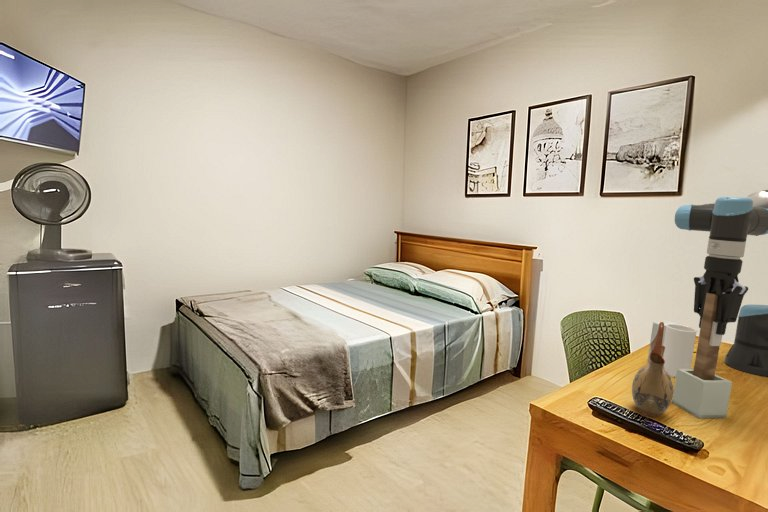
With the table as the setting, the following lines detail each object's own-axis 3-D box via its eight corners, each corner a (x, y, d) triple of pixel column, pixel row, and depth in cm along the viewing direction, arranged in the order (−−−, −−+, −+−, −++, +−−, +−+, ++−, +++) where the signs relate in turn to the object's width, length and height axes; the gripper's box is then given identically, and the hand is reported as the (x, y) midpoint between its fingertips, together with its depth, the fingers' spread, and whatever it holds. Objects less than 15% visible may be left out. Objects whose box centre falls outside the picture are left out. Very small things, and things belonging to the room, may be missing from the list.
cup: (694, 379, 133) (702, 332, 131) (666, 376, 135) (673, 329, 133) (681, 370, 141) (688, 325, 139) (655, 366, 143) (662, 322, 141)
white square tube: (697, 402, 117) (703, 368, 116) (725, 417, 109) (732, 382, 108) (671, 402, 116) (677, 369, 115) (698, 418, 108) (704, 382, 106)
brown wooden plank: (704, 378, 113) (719, 293, 110) (713, 382, 110) (728, 295, 107) (692, 378, 112) (706, 292, 109) (700, 382, 110) (715, 295, 107)
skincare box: (665, 360, 150) (671, 320, 148) (680, 366, 144) (686, 326, 142) (646, 360, 148) (652, 321, 146) (660, 367, 143) (666, 326, 141)
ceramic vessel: (669, 432, 100) (685, 333, 97) (626, 419, 105) (640, 325, 102) (668, 406, 114) (682, 319, 110) (631, 396, 119) (643, 312, 115)
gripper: (685, 252, 114) (672, 333, 117) (741, 260, 99) (724, 354, 102) (709, 253, 115) (695, 334, 118) (767, 261, 100) (750, 354, 103)
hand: (709, 343), depth 110 cm, fingers closed on brown wooden plank, 2 cm apart
